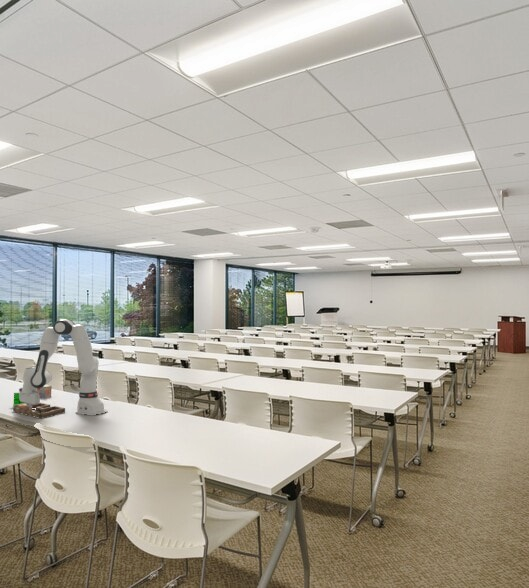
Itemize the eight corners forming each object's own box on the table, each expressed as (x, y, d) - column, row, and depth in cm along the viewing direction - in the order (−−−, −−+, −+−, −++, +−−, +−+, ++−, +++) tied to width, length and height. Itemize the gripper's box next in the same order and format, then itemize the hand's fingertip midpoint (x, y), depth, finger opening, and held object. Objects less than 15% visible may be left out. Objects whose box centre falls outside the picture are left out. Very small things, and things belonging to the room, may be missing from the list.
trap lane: (66, 412, 316) (66, 406, 316) (39, 418, 300) (39, 411, 300) (39, 406, 334) (39, 400, 334) (13, 411, 317) (13, 405, 317)
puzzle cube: (34, 403, 342) (34, 390, 342) (25, 406, 332) (26, 393, 332) (21, 403, 343) (22, 390, 343) (13, 406, 333) (13, 393, 333)
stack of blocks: (51, 396, 369) (51, 381, 369) (44, 398, 363) (45, 383, 364) (33, 394, 378) (34, 379, 378) (27, 395, 372) (27, 380, 373)
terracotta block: (32, 411, 319) (32, 405, 319) (23, 413, 314) (24, 406, 314) (26, 410, 324) (26, 403, 324) (17, 411, 319) (17, 405, 319)
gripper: (42, 390, 313) (41, 410, 313) (26, 387, 324) (25, 406, 324) (33, 392, 308) (33, 412, 308) (17, 388, 319) (17, 408, 319)
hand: (29, 409), depth 316 cm, fingers closed
